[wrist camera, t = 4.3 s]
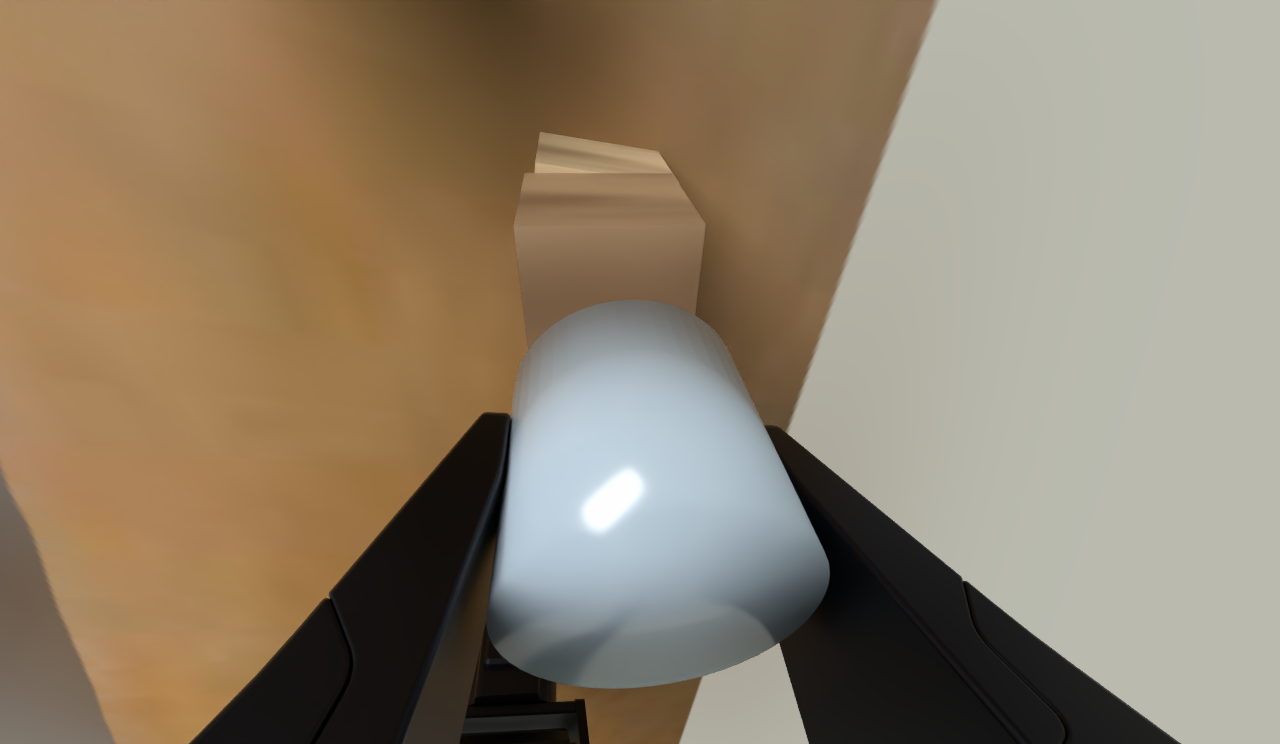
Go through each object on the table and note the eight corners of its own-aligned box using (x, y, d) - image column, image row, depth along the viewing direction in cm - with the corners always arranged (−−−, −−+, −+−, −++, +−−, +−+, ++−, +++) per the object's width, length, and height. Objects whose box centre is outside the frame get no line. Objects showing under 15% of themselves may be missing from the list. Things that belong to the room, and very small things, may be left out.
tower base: (637, 258, 19) (653, 308, 16) (533, 247, 18) (528, 297, 15) (657, 151, 17) (680, 184, 14) (540, 131, 16) (535, 162, 13)
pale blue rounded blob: (704, 474, 11) (765, 678, 7) (510, 470, 10) (487, 698, 7) (763, 311, 8) (890, 507, 5) (517, 288, 7) (483, 503, 4)
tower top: (662, 301, 16) (687, 375, 13) (537, 305, 16) (531, 382, 12) (672, 173, 14) (705, 224, 10) (524, 172, 13) (513, 226, 10)
